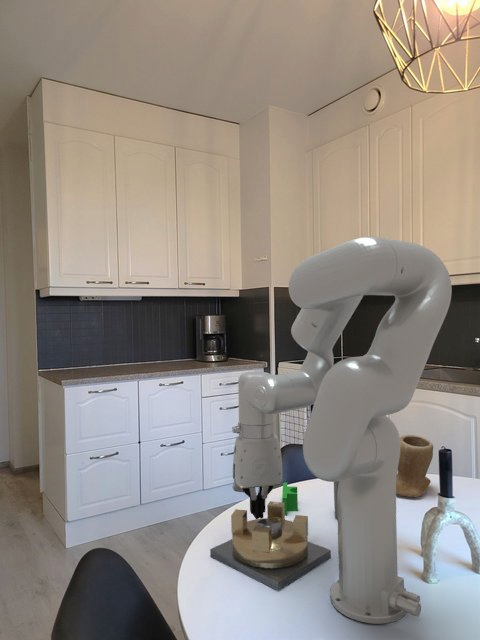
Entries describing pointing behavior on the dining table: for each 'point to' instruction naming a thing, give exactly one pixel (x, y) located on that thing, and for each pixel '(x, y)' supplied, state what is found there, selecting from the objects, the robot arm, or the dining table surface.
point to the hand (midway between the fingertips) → (257, 516)
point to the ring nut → (269, 538)
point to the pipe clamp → (290, 498)
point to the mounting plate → (272, 576)
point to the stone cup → (413, 465)
